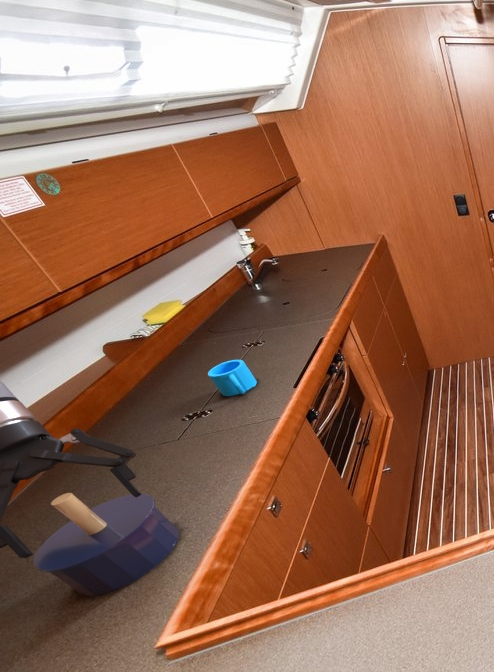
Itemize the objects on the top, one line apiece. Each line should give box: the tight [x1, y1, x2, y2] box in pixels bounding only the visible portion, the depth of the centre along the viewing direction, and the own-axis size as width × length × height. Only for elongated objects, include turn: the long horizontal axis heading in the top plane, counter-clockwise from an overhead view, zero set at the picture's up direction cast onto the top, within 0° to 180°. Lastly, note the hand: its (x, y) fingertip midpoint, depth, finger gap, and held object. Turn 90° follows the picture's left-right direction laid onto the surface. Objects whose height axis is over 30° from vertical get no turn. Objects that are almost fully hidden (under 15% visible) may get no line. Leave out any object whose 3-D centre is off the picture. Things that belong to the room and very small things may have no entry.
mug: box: [207, 359, 258, 397], centre depth 122 cm, size 12×8×8 cm
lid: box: [33, 492, 156, 573], centre depth 74 cm, size 15×15×10 cm
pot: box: [50, 506, 180, 597], centre depth 78 cm, size 14×14×10 cm
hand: (86, 523), depth 73 cm, fingers open, 12 cm apart
